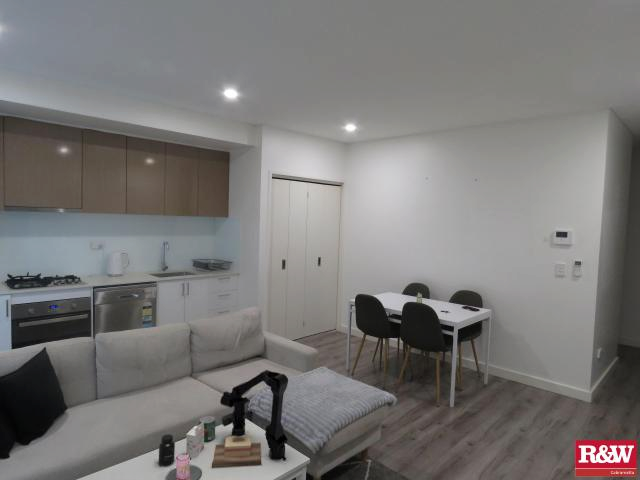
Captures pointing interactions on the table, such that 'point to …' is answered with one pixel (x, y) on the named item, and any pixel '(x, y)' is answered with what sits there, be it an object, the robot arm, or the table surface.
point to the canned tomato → (208, 427)
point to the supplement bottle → (166, 450)
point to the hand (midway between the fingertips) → (238, 440)
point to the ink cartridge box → (195, 440)
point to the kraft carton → (237, 446)
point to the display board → (237, 461)
